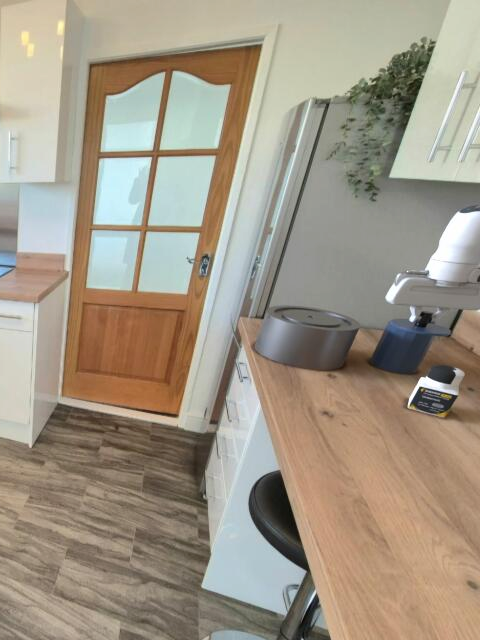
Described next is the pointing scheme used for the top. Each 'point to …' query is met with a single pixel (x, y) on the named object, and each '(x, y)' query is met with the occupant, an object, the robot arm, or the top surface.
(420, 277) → the robot arm
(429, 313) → the tin lid
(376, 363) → the tin
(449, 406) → the medicine bottle
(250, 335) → the top surface
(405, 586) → the top surface
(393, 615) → the top surface
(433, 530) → the top surface
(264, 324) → the container
